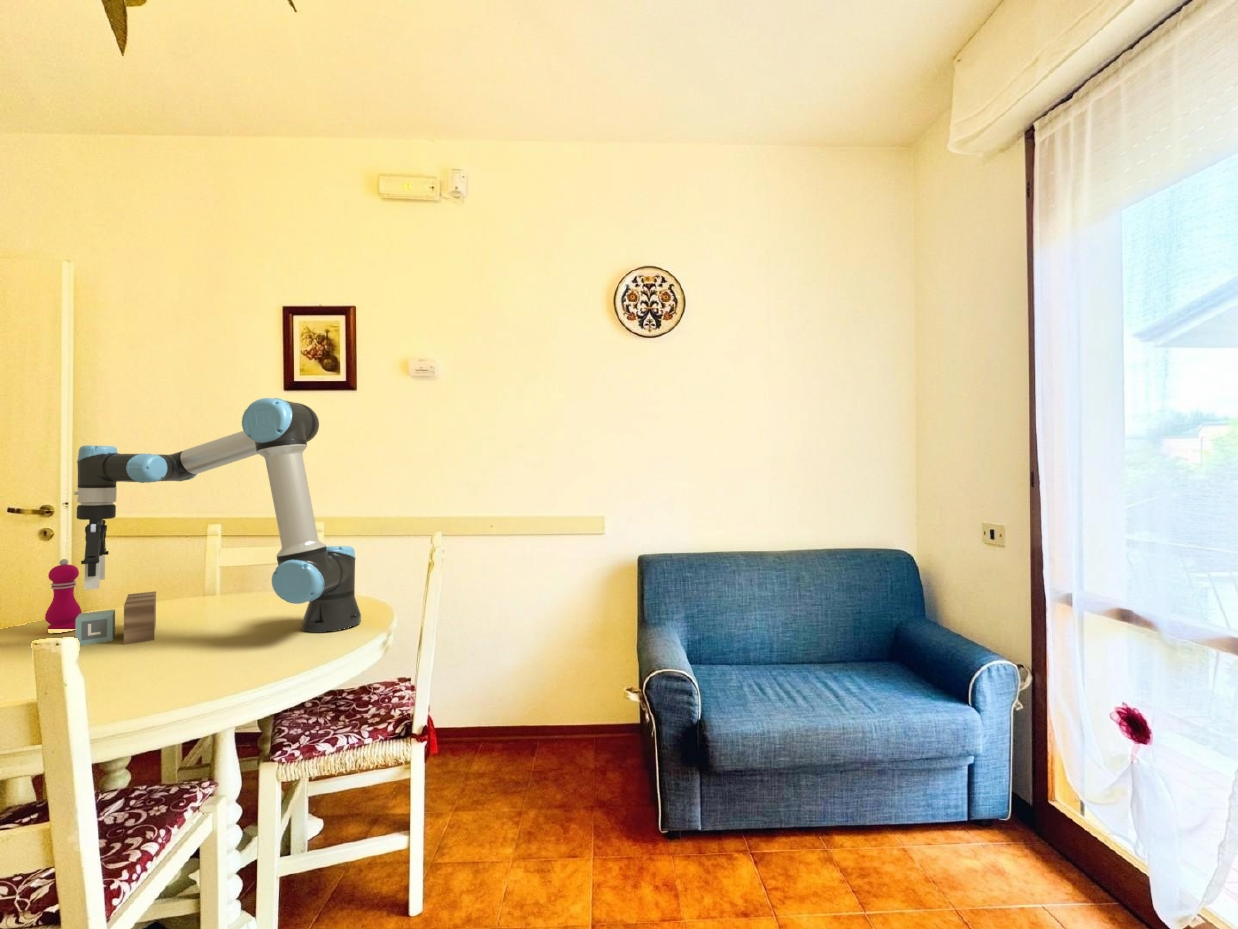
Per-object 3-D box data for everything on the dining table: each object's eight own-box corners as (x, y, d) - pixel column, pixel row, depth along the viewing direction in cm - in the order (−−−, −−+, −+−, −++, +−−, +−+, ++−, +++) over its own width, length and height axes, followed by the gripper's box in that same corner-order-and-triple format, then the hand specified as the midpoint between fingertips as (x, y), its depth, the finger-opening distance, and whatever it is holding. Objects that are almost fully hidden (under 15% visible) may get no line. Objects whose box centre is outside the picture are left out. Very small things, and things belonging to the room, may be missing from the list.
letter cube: (112, 641, 145) (112, 615, 145) (75, 646, 141) (75, 619, 141) (114, 635, 151) (115, 609, 151) (79, 640, 146) (79, 613, 146)
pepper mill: (81, 625, 159) (81, 556, 159) (81, 630, 154) (82, 559, 154) (45, 630, 154) (45, 559, 154) (44, 636, 149) (44, 562, 149)
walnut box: (154, 640, 146) (154, 602, 146) (123, 644, 143) (123, 605, 143) (155, 626, 159) (156, 591, 159) (127, 630, 155) (128, 594, 155)
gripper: (83, 501, 153) (81, 577, 153) (69, 507, 134) (67, 595, 134) (119, 500, 158) (118, 574, 158) (111, 506, 139) (109, 591, 139)
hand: (94, 584), depth 146 cm, fingers open, 13 cm apart
